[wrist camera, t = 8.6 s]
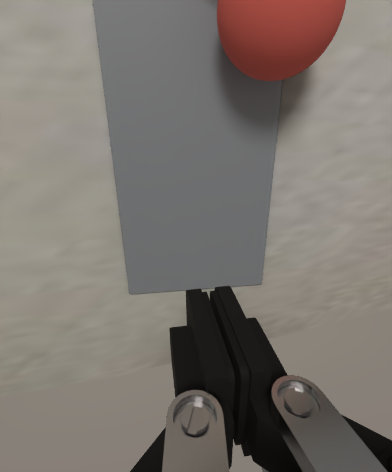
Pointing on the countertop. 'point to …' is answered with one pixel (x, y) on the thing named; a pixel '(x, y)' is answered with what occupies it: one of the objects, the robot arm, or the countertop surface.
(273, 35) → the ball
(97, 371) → the countertop surface
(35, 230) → the countertop surface
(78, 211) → the countertop surface
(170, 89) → the plate
